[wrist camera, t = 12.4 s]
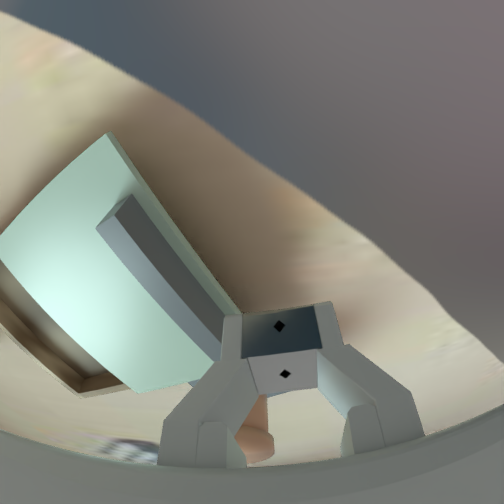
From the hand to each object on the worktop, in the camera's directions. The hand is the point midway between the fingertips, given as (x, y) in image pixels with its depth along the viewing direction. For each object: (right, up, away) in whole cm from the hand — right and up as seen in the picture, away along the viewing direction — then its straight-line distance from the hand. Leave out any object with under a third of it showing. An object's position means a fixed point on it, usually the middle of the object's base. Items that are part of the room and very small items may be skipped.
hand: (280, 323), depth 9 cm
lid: (-9, -1, +9) cm, 12 cm away
